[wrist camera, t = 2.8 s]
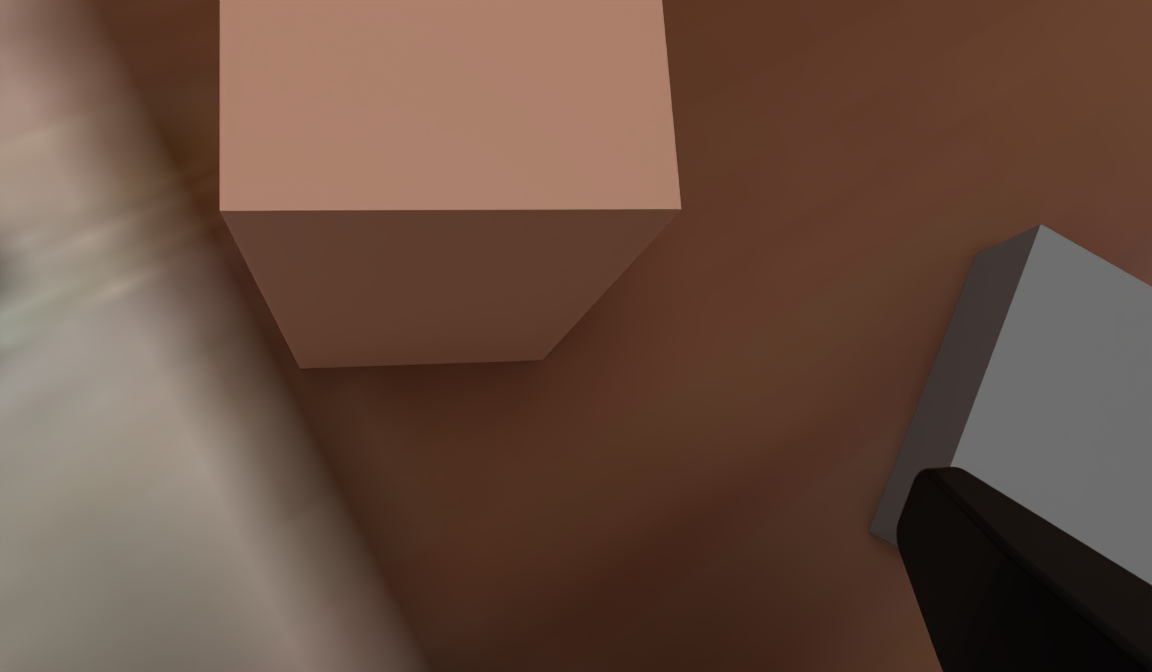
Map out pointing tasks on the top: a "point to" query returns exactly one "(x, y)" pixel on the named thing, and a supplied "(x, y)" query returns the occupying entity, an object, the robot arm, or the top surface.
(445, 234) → the tall brick
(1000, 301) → the base brick
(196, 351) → the top surface
